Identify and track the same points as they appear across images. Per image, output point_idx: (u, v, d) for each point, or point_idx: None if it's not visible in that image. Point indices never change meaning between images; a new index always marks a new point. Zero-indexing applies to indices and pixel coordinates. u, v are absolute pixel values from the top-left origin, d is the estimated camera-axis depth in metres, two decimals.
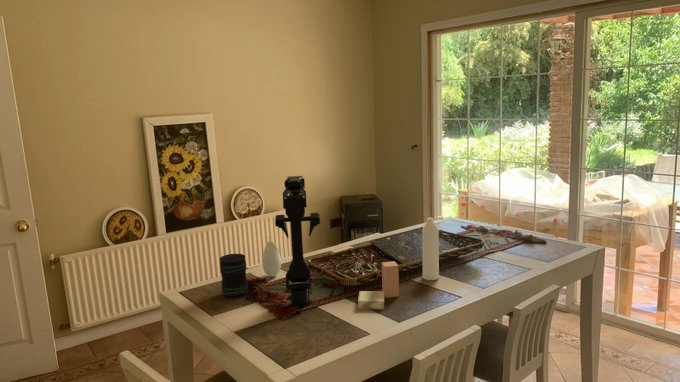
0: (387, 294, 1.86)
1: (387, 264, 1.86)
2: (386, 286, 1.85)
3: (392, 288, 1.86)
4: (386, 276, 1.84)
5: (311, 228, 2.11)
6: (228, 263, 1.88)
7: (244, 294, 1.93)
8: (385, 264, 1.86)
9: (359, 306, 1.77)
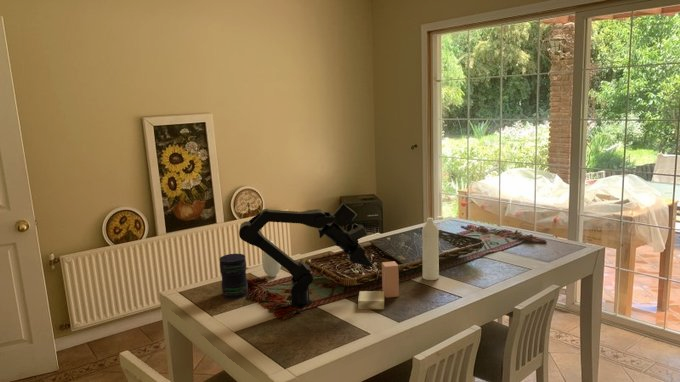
0: (387, 294, 1.86)
1: (387, 264, 1.86)
2: (386, 286, 1.85)
3: (392, 288, 1.86)
4: (386, 276, 1.84)
5: None
6: (228, 263, 1.88)
7: (244, 294, 1.93)
8: (385, 264, 1.86)
9: (359, 306, 1.77)
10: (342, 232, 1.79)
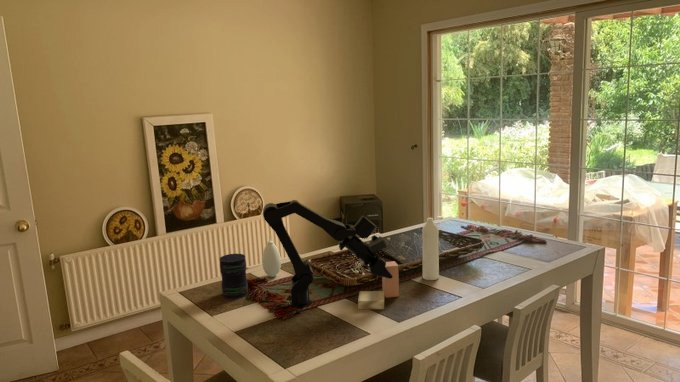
0: (387, 294, 1.86)
1: (387, 264, 1.86)
2: (386, 286, 1.85)
3: (392, 288, 1.86)
4: None
5: None
6: (228, 263, 1.88)
7: (244, 294, 1.93)
8: None
9: (359, 306, 1.77)
10: (362, 244, 1.81)
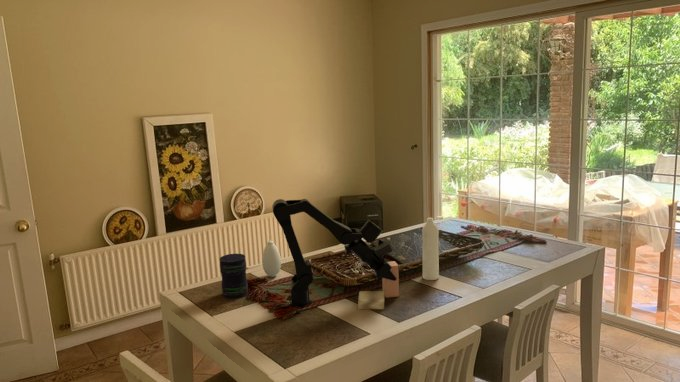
0: (387, 294, 1.86)
1: None
2: (386, 286, 1.85)
3: (392, 288, 1.86)
4: None
5: None
6: (228, 263, 1.88)
7: (244, 294, 1.93)
8: None
9: (359, 306, 1.77)
10: (368, 248, 1.82)
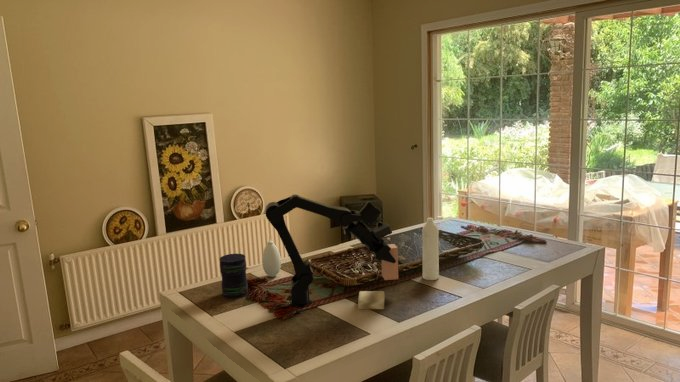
0: (386, 276, 1.84)
1: None
2: (385, 268, 1.84)
3: (391, 271, 1.84)
4: None
5: None
6: (228, 263, 1.88)
7: (244, 294, 1.93)
8: None
9: (359, 306, 1.77)
10: (367, 230, 1.81)
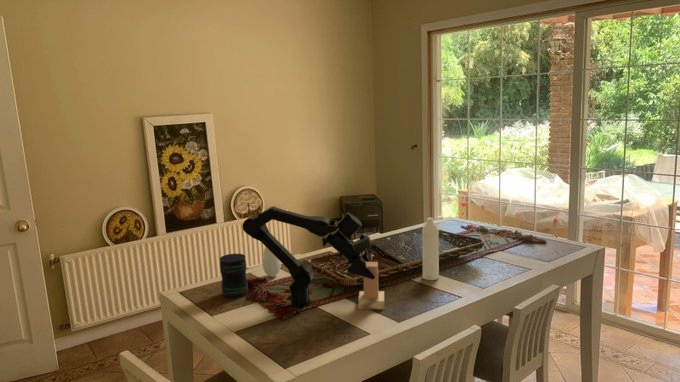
0: (365, 295, 1.78)
1: (367, 264, 1.78)
2: (364, 287, 1.77)
3: (370, 290, 1.77)
4: None
5: None
6: (228, 263, 1.88)
7: (244, 294, 1.93)
8: None
9: (359, 306, 1.77)
10: (345, 242, 1.75)
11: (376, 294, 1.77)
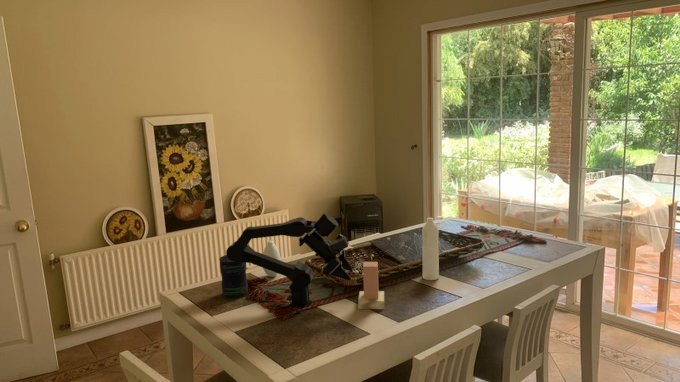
0: (365, 295, 1.78)
1: (367, 264, 1.78)
2: (364, 287, 1.77)
3: (370, 290, 1.77)
4: (364, 276, 1.77)
5: None
6: (228, 263, 1.88)
7: (244, 294, 1.93)
8: (365, 264, 1.78)
9: (359, 306, 1.77)
10: (322, 242, 1.76)
11: (376, 294, 1.77)
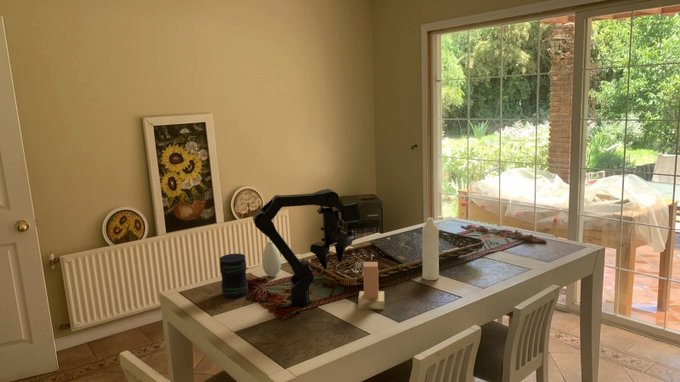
0: (365, 295, 1.78)
1: (367, 264, 1.78)
2: (364, 287, 1.77)
3: (370, 290, 1.77)
4: (364, 276, 1.77)
5: None
6: (228, 263, 1.88)
7: (244, 294, 1.93)
8: (365, 264, 1.78)
9: (359, 306, 1.77)
10: (332, 225, 1.79)
11: (376, 294, 1.77)
